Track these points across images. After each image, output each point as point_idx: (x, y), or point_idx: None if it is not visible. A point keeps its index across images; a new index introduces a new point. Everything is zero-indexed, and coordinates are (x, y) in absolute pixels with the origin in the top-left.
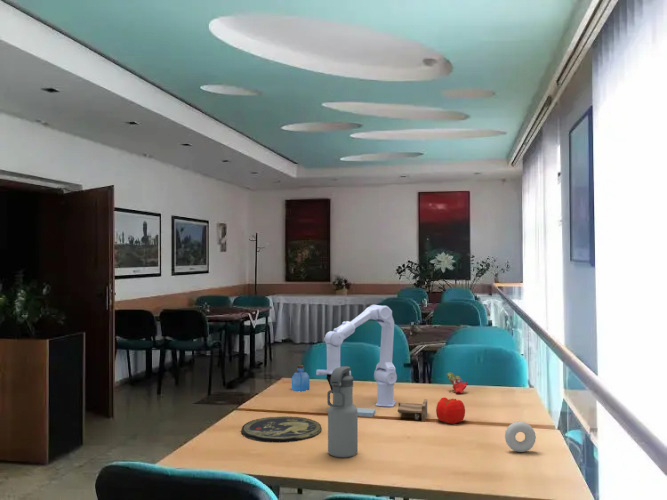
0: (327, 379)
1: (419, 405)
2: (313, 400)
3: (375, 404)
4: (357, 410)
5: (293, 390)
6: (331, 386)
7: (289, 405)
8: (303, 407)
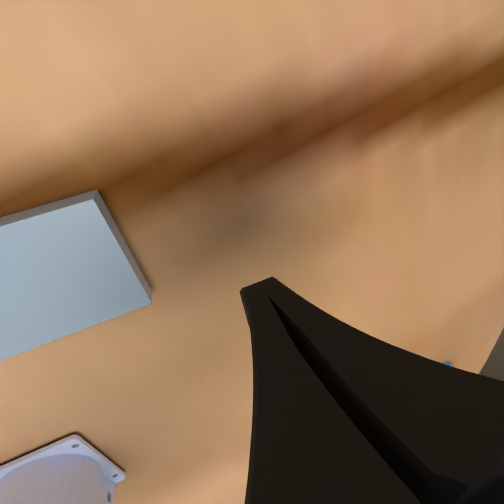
0: (478, 379)
1: None
2: (373, 327)
3: (79, 442)
4: (16, 283)
5: (443, 363)
6: (310, 322)
7: (453, 214)
8: (394, 218)
